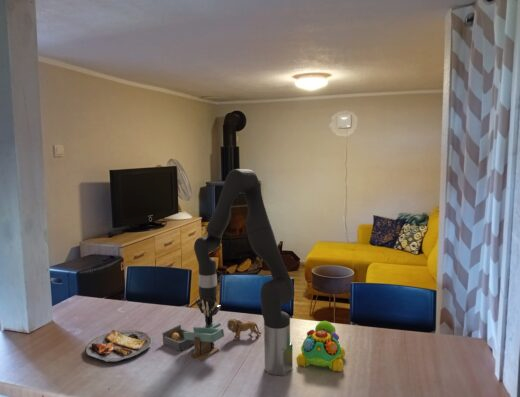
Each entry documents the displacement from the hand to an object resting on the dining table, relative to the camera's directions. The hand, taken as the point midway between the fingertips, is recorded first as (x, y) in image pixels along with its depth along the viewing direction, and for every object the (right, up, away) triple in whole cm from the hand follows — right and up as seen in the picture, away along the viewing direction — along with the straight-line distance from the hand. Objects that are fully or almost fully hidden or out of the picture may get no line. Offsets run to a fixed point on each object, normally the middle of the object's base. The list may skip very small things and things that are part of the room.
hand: (208, 324), depth 170 cm
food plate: (-35, -9, -5) cm, 37 cm away
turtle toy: (+45, -9, -14) cm, 48 cm away
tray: (-12, -8, -2) cm, 14 cm away
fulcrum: (0, -8, -10) cm, 13 cm away
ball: (-14, -5, 0) cm, 15 cm away
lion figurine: (+14, -7, +3) cm, 16 cm away
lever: (+2, -1, -7) cm, 7 cm away
